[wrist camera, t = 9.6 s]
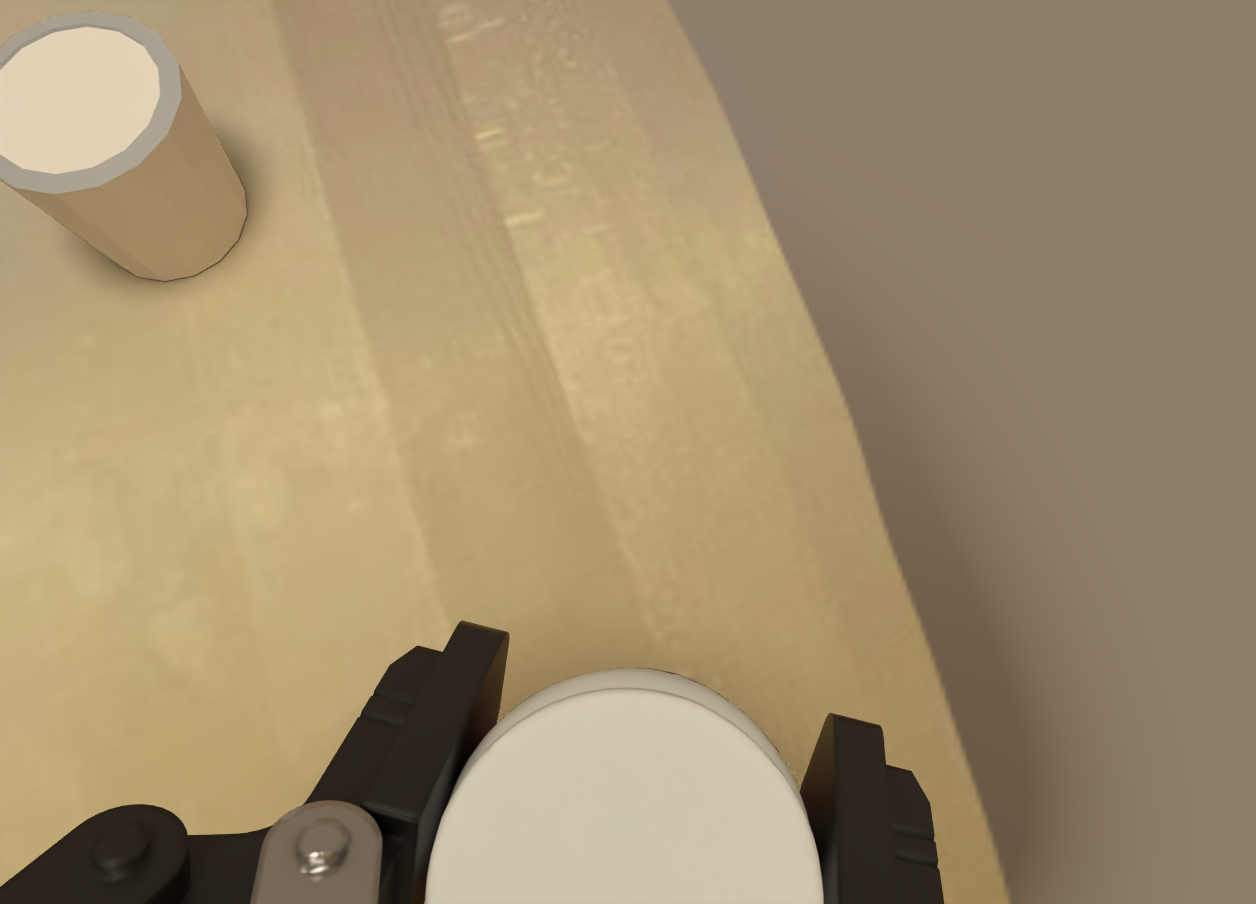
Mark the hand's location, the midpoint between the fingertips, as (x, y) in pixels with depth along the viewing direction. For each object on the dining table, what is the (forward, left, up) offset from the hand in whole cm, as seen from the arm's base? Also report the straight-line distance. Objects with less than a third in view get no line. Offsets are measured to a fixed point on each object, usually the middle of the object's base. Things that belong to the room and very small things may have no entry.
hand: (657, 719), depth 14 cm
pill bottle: (0, +2, -4) cm, 5 cm away
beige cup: (+19, -18, -18) cm, 32 cm away
